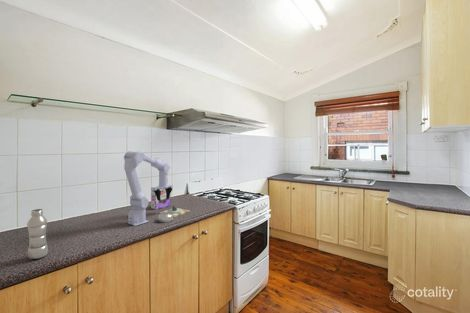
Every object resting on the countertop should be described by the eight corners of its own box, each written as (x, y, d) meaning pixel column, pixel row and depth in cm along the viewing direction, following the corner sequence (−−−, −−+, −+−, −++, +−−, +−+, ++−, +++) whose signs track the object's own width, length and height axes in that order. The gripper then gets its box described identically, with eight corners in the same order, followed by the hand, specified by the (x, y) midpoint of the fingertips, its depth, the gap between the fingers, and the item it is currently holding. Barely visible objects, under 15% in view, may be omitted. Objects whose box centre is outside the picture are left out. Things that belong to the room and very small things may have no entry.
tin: (164, 224, 137) (164, 217, 137) (155, 221, 142) (155, 214, 142) (176, 220, 144) (176, 214, 144) (167, 217, 149) (167, 211, 149)
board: (172, 217, 149) (172, 216, 148) (158, 214, 156) (158, 212, 156) (189, 212, 162) (189, 210, 162) (176, 208, 170) (176, 207, 170)
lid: (174, 214, 152) (174, 208, 152) (164, 212, 157) (164, 206, 157) (184, 211, 161) (184, 205, 161) (174, 209, 165) (174, 203, 165)
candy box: (155, 209, 166) (155, 187, 166) (150, 208, 170) (150, 187, 169) (170, 206, 177) (170, 185, 177) (166, 204, 181) (166, 184, 180)
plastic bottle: (29, 262, 90) (27, 213, 89) (26, 257, 94) (25, 210, 93) (49, 257, 94) (48, 210, 94) (46, 252, 99) (45, 207, 98)
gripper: (158, 181, 148) (158, 202, 148) (175, 179, 160) (175, 198, 160) (151, 180, 152) (151, 200, 152) (168, 178, 164) (168, 196, 164)
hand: (163, 199), depth 156 cm, fingers open, 7 cm apart
